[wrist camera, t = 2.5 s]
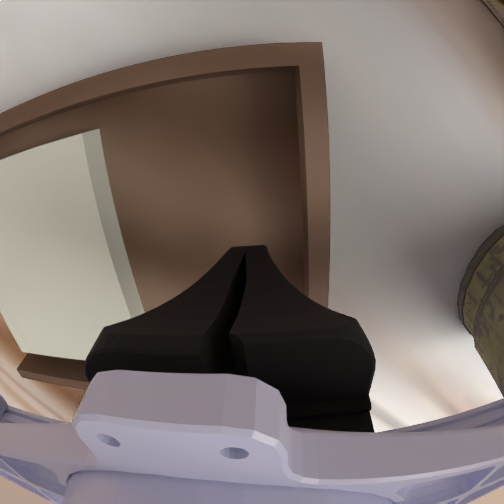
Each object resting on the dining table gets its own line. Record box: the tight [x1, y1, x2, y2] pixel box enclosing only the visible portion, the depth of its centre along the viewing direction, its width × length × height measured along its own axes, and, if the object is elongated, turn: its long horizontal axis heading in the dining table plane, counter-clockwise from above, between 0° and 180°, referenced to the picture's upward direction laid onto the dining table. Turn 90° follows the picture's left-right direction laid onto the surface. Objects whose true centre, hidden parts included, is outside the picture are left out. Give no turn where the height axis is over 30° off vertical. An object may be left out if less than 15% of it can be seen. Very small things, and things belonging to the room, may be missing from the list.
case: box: [0, 42, 330, 390], centre depth 14 cm, size 16×20×3 cm
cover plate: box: [0, 129, 145, 360], centre depth 14 cm, size 12×10×2 cm
